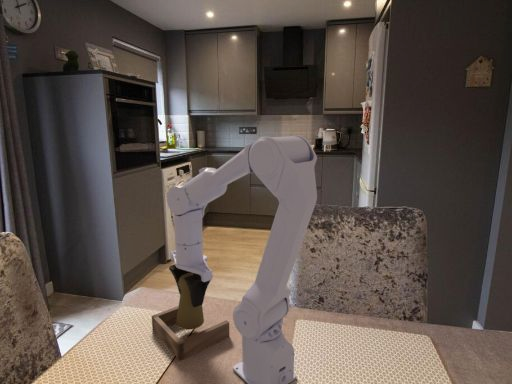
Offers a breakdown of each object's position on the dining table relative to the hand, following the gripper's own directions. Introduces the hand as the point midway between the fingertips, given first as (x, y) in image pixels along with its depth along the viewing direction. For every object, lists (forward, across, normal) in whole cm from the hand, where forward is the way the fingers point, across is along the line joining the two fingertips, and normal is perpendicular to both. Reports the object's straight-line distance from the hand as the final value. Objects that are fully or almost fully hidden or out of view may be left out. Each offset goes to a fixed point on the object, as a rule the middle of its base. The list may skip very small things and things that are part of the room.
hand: (191, 300), depth 73 cm
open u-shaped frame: (+8, 0, 0) cm, 8 cm away
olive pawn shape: (+5, 0, 0) cm, 5 cm away
